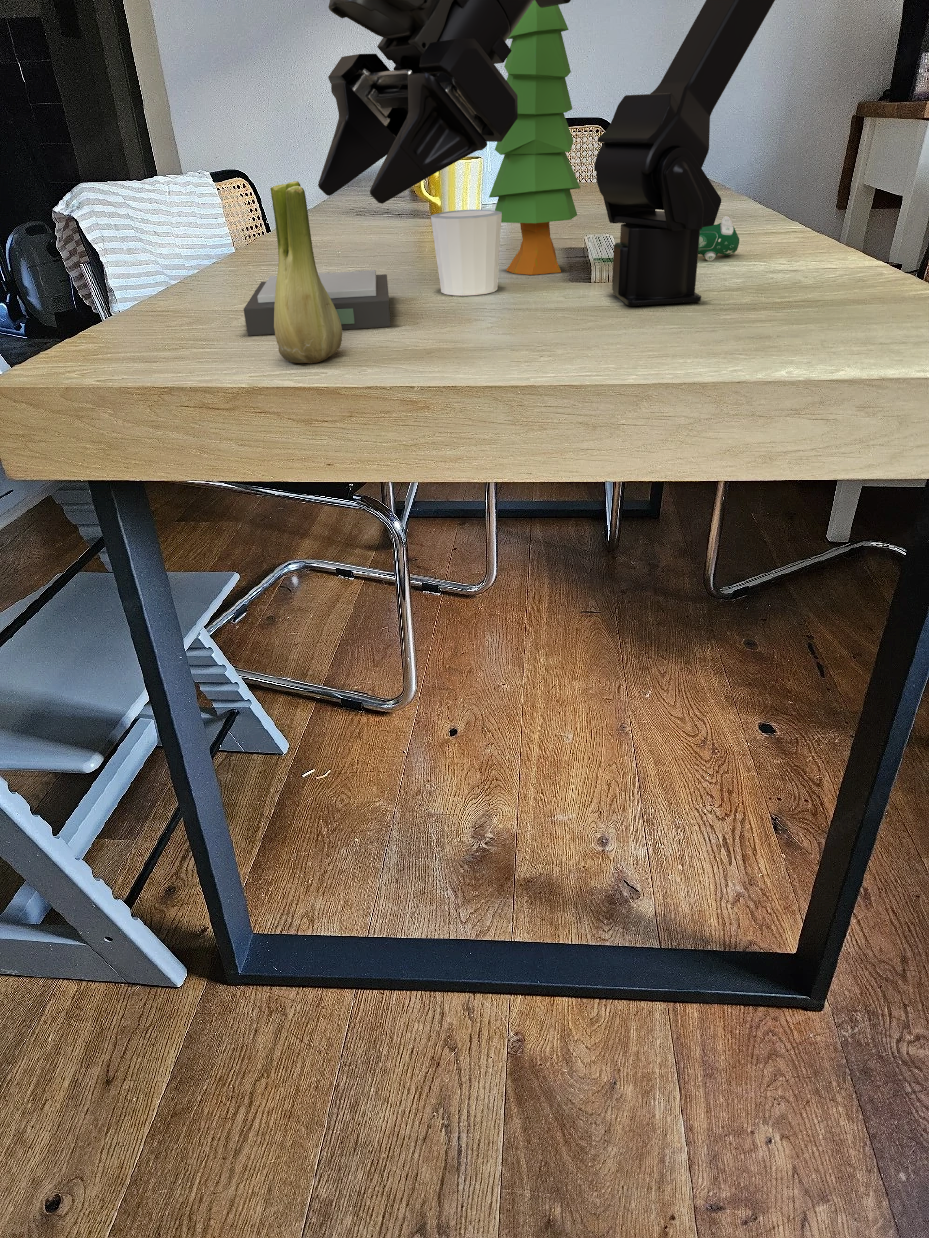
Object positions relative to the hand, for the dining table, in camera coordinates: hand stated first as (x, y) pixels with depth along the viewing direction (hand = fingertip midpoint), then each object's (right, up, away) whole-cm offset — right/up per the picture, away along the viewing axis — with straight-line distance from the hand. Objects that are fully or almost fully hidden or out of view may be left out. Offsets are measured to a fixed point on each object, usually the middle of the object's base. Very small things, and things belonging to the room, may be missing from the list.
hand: (347, 195), depth 63 cm
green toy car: (+34, +10, +35) cm, 50 cm away
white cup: (+9, +2, +25) cm, 27 cm away
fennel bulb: (-3, -11, +4) cm, 12 cm away
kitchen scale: (-5, -2, +18) cm, 18 cm away
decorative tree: (+16, +8, +34) cm, 39 cm away
